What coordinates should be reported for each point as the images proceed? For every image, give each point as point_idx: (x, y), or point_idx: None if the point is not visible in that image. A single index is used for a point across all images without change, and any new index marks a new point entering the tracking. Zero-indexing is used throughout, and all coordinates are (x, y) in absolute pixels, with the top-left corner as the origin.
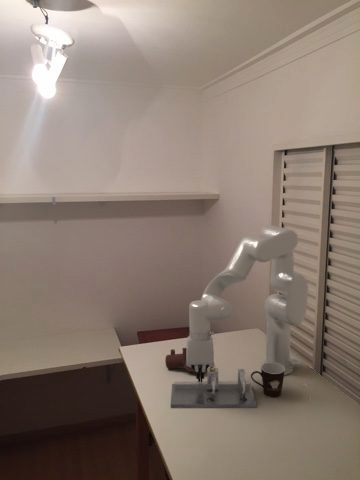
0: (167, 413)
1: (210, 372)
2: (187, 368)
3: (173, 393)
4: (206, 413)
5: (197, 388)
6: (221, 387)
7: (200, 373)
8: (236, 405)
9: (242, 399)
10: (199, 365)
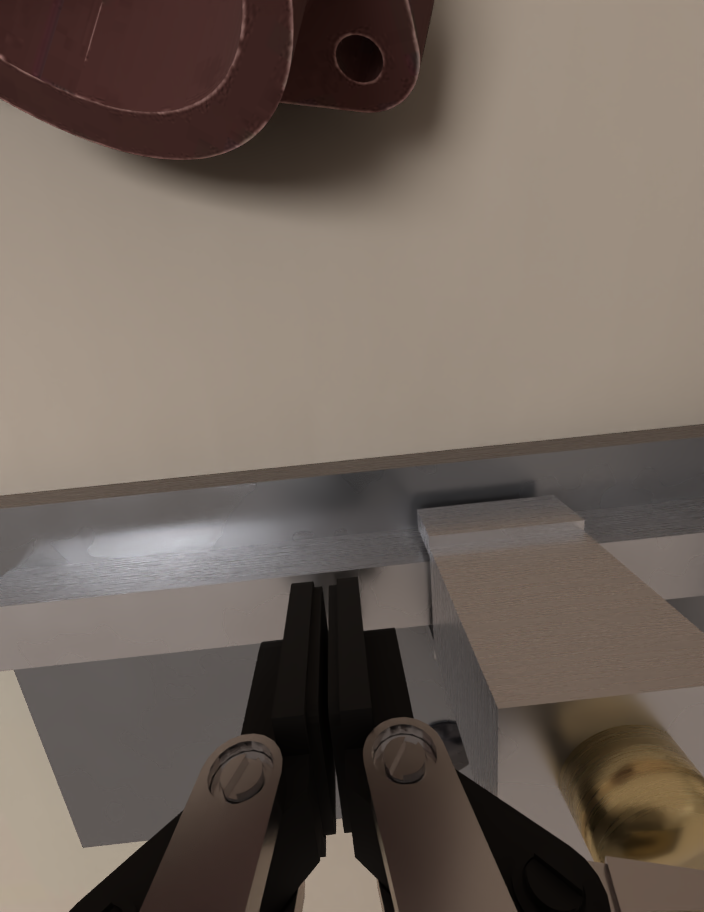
0: (98, 873)
1: (554, 832)
2: (23, 102)
3: (48, 700)
4: None
5: None
6: None
7: (345, 824)
8: None
9: None
10: (259, 96)
